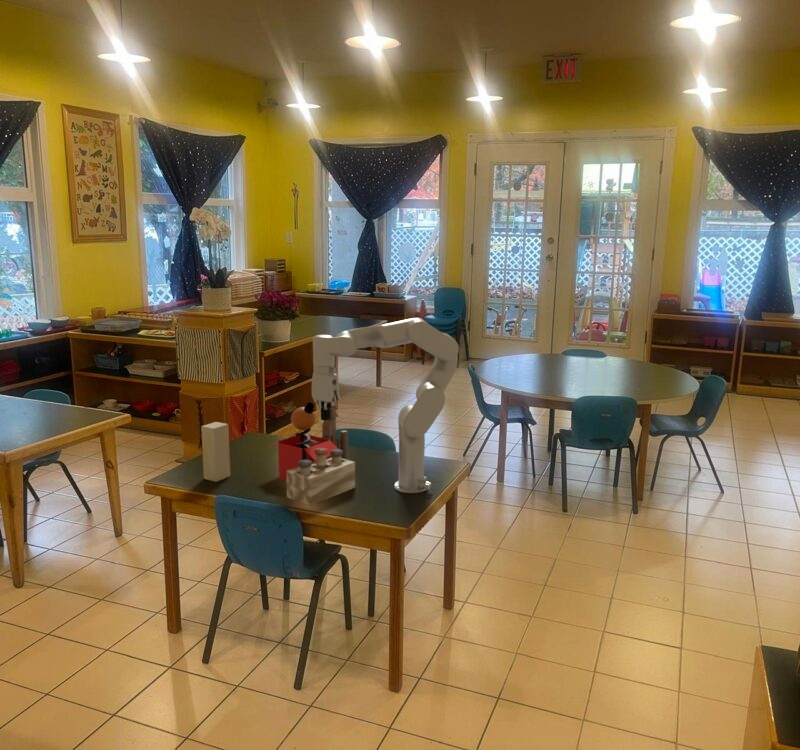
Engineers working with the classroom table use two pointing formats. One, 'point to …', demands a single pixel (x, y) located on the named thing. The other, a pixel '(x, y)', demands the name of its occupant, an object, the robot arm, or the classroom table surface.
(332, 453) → the plug
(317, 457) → the plug mid
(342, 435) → the wooden toy
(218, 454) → the toy refrigerator
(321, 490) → the wooden cylinder block
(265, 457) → the classroom table surface
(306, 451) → the jack-in-the-box
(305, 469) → the plug
